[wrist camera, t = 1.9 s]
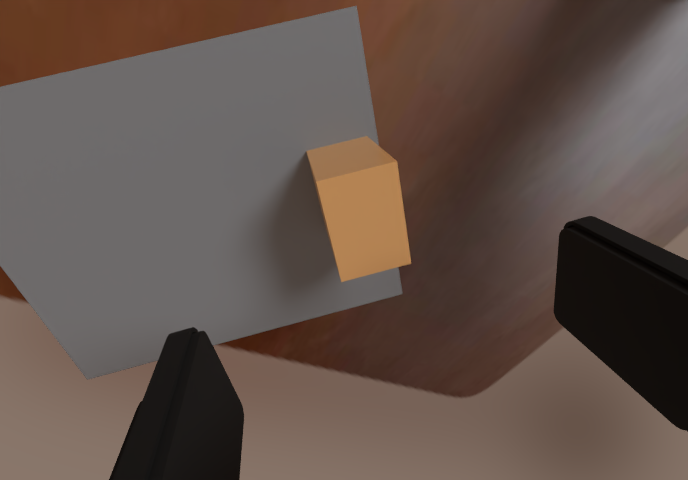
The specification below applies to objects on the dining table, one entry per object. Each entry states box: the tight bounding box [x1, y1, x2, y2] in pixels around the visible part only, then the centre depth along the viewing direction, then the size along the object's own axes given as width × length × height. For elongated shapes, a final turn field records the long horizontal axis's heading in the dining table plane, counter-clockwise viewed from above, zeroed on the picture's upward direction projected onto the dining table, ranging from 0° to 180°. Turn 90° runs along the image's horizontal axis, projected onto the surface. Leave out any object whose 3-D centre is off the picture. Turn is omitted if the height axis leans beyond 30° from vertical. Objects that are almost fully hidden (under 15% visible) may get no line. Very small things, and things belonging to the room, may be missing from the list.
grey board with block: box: [0, 6, 411, 379], centre depth 17 cm, size 19×15×7 cm
